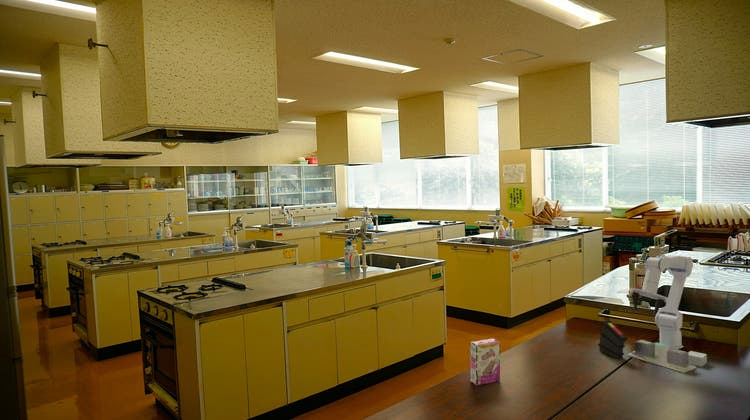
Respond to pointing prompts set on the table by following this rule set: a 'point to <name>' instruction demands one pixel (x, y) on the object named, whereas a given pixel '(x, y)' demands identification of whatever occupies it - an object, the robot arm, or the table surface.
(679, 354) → the rail panel
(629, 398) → the table surface
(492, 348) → the candy bar box
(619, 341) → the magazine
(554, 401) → the table surface
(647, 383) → the table surface
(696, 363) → the block
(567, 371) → the table surface
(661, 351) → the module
